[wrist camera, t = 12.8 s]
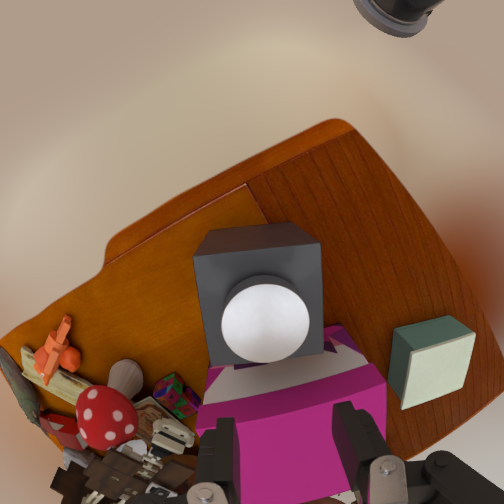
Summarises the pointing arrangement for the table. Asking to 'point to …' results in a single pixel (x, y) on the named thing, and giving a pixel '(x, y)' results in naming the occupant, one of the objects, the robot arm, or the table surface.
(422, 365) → the lunchbox lid
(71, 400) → the plank
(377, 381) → the decorative box
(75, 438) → the red toy car
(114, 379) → the decorative mushroom
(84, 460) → the decorative rock
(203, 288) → the block
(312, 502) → the planet model
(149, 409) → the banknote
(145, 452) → the pincushion
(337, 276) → the table surface
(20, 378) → the sculpture
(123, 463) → the skeleton figurine
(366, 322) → the table surface
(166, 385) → the rubik's cube
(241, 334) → the dish
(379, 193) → the table surface
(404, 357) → the lunchbox
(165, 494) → the knife
